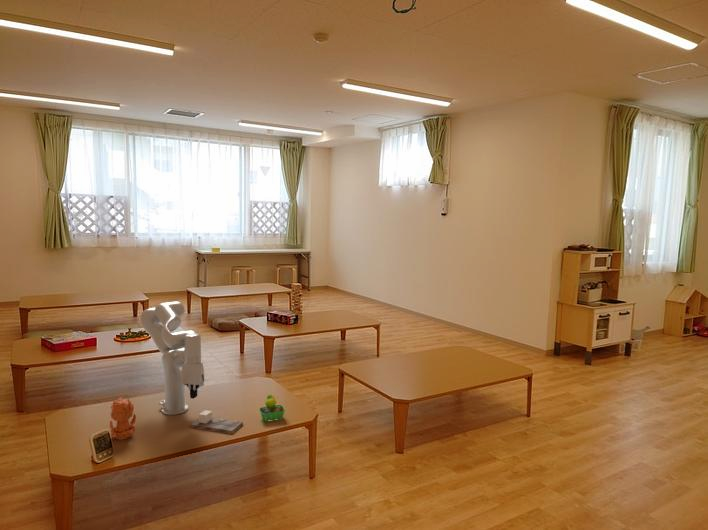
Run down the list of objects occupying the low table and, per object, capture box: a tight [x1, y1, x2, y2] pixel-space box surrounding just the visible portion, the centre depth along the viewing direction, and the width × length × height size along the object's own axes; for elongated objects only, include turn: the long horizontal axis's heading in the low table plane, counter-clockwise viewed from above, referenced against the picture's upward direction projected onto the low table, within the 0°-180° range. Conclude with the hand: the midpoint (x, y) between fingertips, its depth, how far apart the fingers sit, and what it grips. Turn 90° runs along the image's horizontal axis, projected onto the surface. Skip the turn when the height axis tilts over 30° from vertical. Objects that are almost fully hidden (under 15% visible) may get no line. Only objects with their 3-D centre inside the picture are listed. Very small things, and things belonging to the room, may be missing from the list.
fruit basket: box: [258, 394, 286, 422], centre depth 234 cm, size 11×9×11 cm
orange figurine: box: [109, 396, 137, 441], centre depth 211 cm, size 11×11×18 cm
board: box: [189, 416, 244, 435], centre depth 224 cm, size 22×10×2 cm, turn 75°
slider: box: [198, 409, 213, 423], centre depth 225 cm, size 4×5×4 cm
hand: (193, 397), depth 226 cm, fingers closed
